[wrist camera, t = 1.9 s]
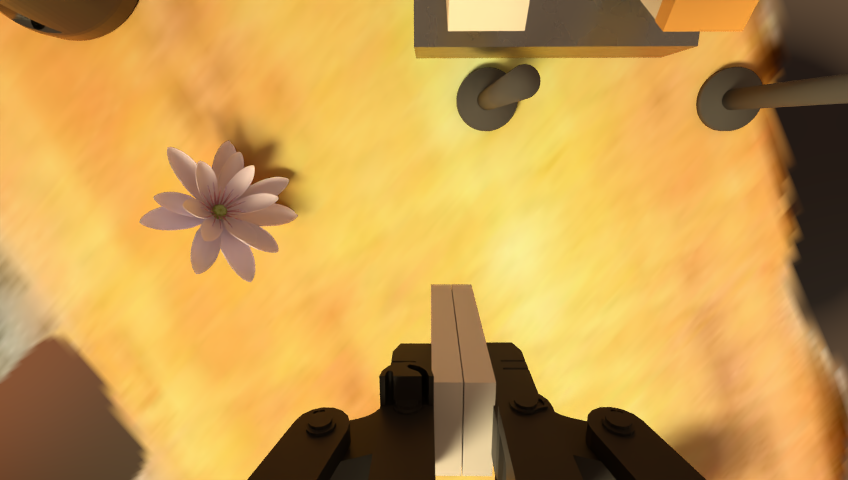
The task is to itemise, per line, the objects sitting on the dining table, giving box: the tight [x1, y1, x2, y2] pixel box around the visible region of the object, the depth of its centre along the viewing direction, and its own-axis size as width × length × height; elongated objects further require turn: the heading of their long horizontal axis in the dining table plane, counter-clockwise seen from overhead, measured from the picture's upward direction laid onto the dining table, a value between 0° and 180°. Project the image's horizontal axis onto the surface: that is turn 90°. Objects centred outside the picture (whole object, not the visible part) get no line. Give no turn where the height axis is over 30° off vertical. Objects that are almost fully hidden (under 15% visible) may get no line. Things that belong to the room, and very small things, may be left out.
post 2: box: [696, 67, 848, 131], centre depth 35 cm, size 6×6×18 cm
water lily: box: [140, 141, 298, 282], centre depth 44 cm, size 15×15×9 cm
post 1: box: [457, 64, 540, 131], centre depth 35 cm, size 6×6×18 cm
